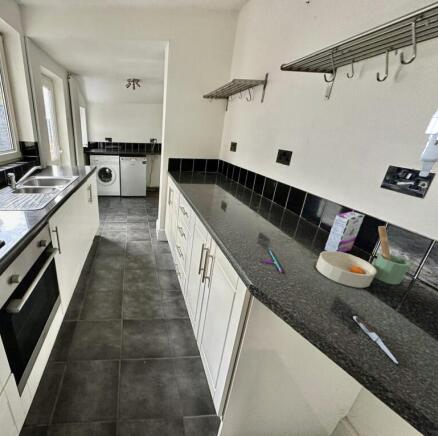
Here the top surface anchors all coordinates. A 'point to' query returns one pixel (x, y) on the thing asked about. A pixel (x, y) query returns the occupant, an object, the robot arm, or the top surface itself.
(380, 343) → the pocket knife
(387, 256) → the stirring stick
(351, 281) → the bowl
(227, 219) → the top surface
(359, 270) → the ball
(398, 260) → the holder
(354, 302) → the top surface
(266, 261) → the squeegee
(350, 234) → the candy bar box
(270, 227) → the top surface
